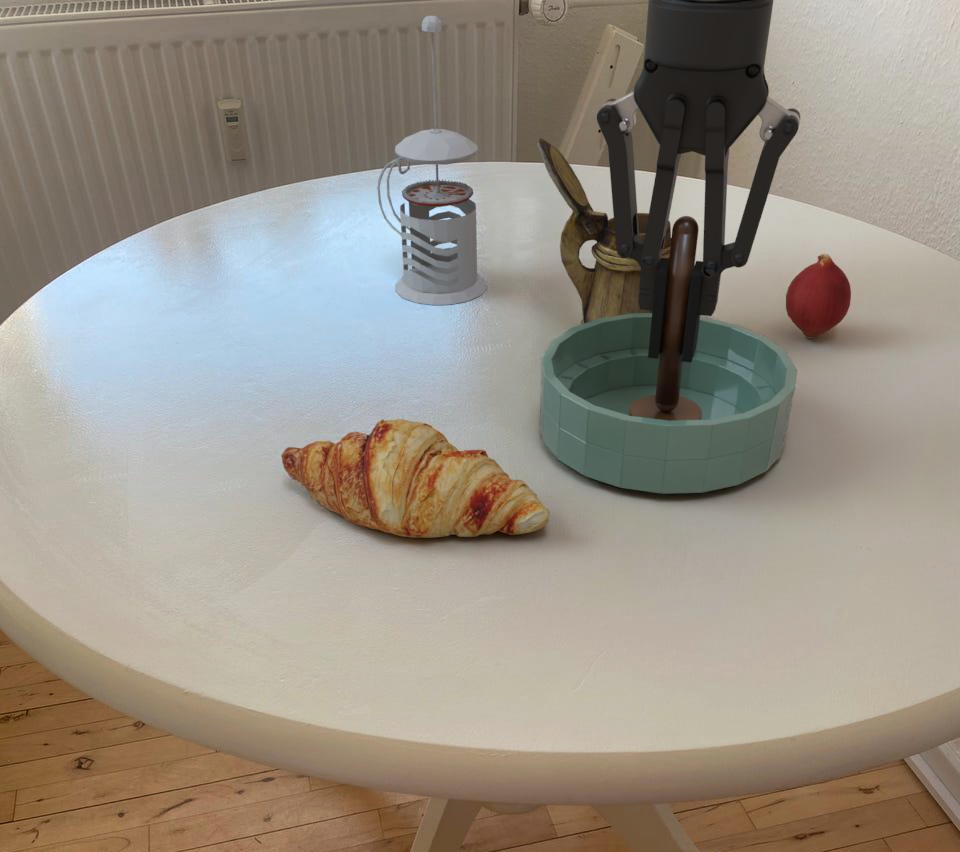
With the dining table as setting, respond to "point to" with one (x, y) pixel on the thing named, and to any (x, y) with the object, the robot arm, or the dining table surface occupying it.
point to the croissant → (414, 484)
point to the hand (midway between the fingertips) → (672, 351)
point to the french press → (436, 216)
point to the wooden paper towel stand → (673, 332)
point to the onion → (818, 297)
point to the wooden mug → (595, 247)
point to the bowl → (661, 443)
